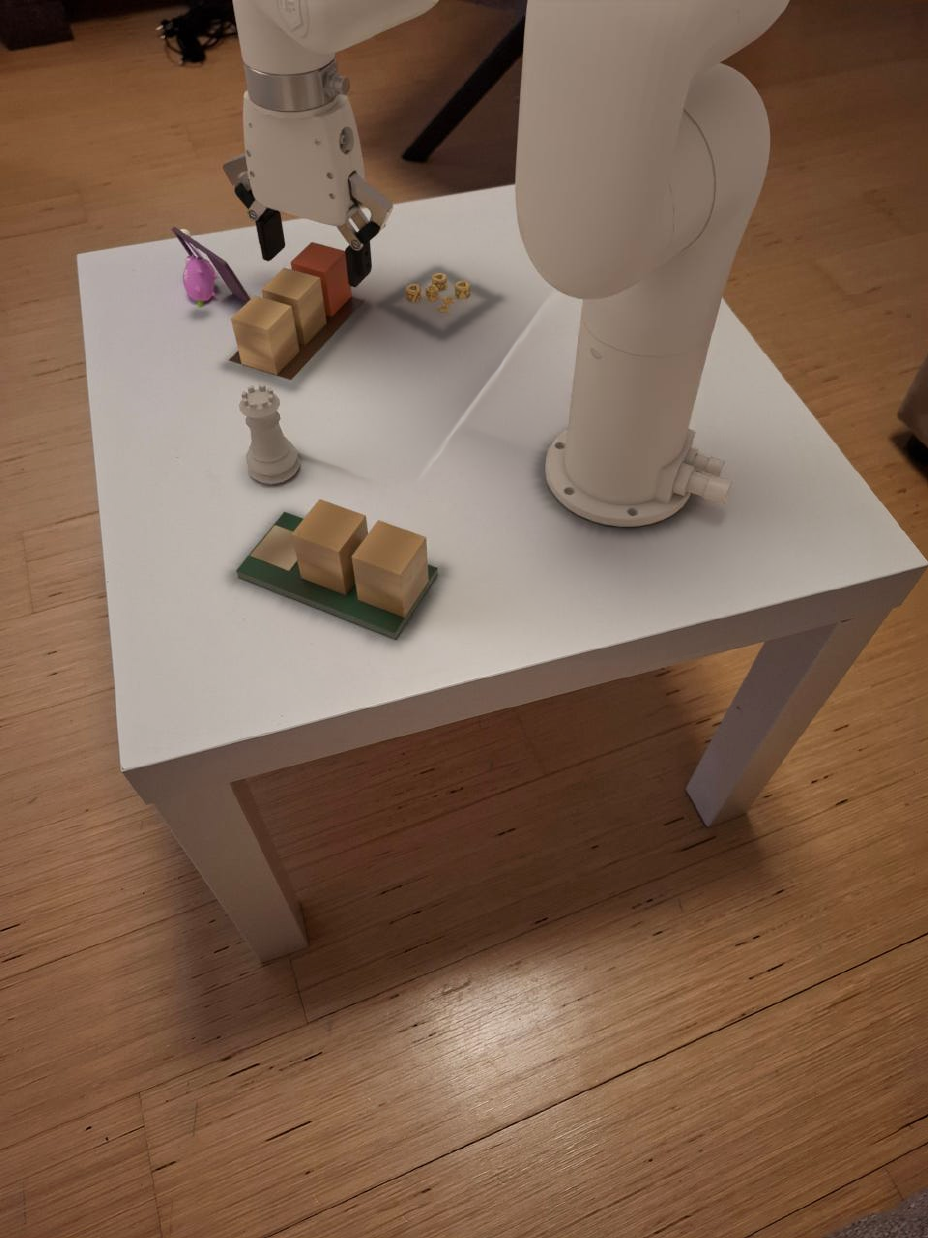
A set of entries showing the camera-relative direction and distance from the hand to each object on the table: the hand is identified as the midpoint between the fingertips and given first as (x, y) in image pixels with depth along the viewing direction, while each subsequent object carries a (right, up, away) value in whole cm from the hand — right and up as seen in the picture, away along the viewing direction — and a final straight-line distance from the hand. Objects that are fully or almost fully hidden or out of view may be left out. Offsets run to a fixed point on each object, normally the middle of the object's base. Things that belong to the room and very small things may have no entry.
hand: (316, 266), depth 89 cm
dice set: (+12, -2, +4) cm, 13 cm away
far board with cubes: (-2, -7, +1) cm, 7 cm away
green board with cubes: (+5, -31, -18) cm, 36 cm away
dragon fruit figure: (-11, -2, +4) cm, 12 cm away
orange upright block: (0, -2, +3) cm, 4 cm away
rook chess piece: (-2, -22, -11) cm, 24 cm away
